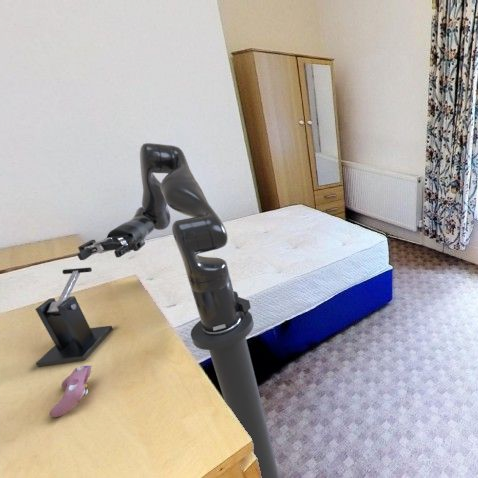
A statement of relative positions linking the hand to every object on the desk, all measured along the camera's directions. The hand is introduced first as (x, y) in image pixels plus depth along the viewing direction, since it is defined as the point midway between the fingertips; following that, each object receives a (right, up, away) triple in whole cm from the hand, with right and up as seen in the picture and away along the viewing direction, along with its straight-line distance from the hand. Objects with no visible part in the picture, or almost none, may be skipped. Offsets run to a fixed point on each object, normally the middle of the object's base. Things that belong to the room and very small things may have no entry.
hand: (98, 255), depth 92 cm
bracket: (+4, -23, -10) cm, 25 cm away
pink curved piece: (+19, -30, -23) cm, 42 cm away
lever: (+4, -9, -10) cm, 14 cm away
